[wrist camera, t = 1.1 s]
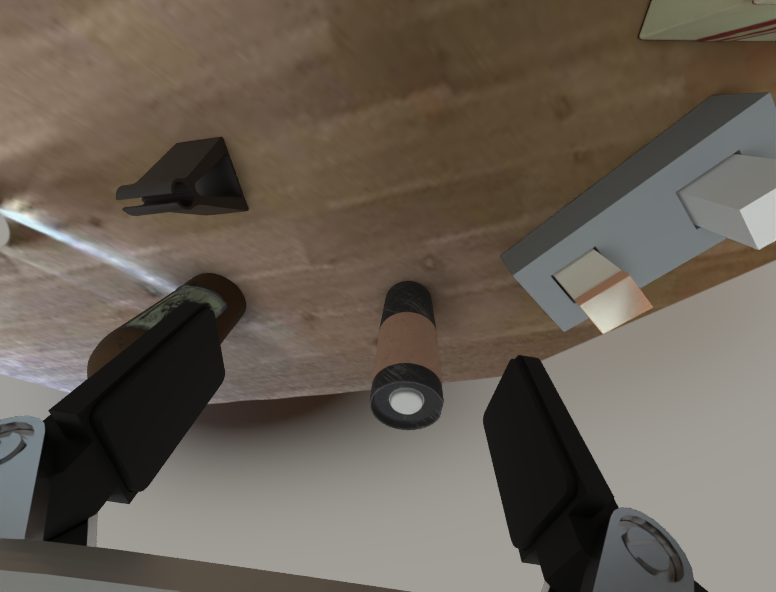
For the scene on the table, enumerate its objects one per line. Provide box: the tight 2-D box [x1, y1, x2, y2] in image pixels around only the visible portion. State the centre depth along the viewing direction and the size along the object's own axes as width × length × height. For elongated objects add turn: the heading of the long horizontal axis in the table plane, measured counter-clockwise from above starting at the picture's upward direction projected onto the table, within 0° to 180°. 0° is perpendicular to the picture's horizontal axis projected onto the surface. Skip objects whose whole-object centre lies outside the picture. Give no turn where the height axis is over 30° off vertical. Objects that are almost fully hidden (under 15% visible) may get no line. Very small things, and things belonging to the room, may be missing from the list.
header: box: [501, 92, 776, 332], centre depth 33 cm, size 26×12×13 cm, turn 136°
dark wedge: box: [116, 137, 248, 216], centre depth 34 cm, size 9×6×12 cm, turn 7°
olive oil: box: [87, 274, 245, 378], centre depth 39 cm, size 11×11×25 cm
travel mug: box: [370, 281, 444, 430], centre depth 38 cm, size 8×8×20 cm
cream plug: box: [553, 248, 653, 334], centre depth 36 cm, size 5×5×12 cm
